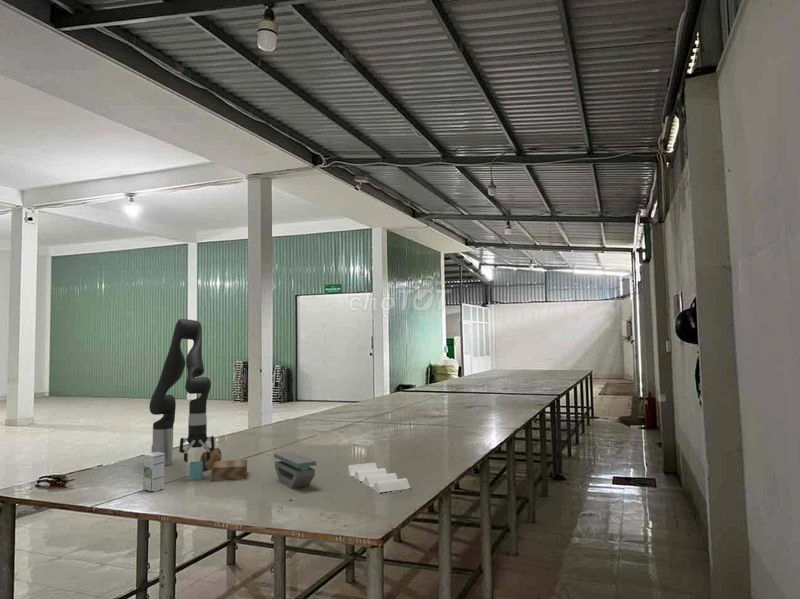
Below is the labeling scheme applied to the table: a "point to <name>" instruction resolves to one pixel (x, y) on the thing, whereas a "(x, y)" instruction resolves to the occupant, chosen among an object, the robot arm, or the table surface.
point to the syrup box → (153, 471)
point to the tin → (211, 458)
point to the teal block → (196, 470)
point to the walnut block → (229, 470)
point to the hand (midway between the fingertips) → (197, 461)
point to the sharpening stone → (294, 469)
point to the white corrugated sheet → (377, 478)
